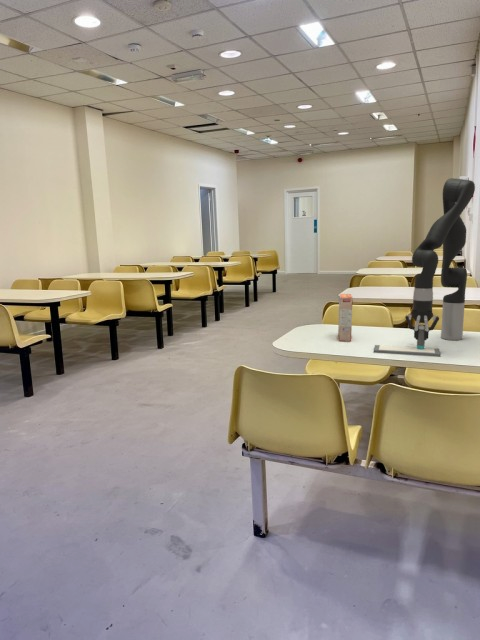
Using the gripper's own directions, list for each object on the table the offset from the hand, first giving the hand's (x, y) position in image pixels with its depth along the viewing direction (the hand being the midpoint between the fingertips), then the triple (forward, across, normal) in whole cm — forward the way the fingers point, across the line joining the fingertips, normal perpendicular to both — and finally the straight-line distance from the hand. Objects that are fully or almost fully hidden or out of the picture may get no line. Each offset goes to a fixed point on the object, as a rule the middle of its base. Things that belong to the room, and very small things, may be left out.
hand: (420, 339), depth 196 cm
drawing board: (+5, +6, +2) cm, 8 cm away
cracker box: (+5, +34, -18) cm, 38 cm away
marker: (+4, 0, 0) cm, 4 cm away
